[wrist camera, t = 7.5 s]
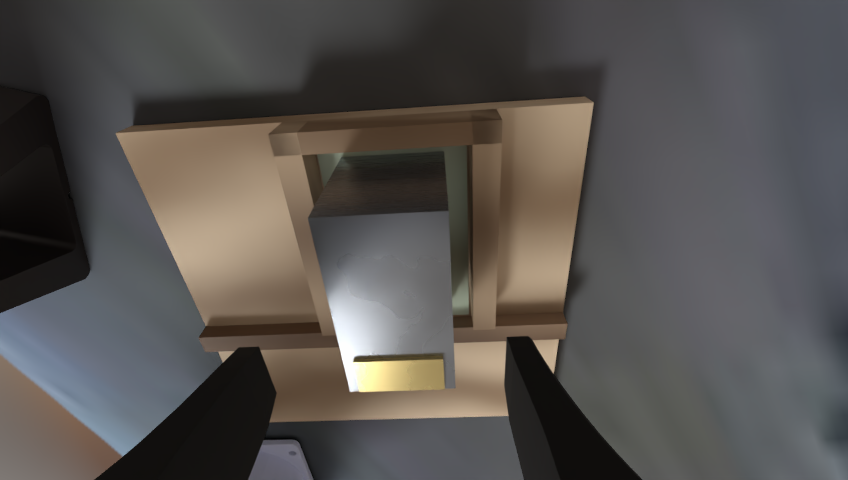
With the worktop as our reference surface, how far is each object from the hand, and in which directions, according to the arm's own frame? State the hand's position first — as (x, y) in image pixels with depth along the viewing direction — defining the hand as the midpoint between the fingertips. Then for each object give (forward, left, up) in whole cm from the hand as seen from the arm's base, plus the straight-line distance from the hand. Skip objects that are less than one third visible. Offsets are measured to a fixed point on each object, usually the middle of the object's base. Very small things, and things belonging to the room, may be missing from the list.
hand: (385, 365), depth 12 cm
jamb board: (-3, +1, -8) cm, 9 cm away
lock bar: (0, 0, -7) cm, 7 cm away
